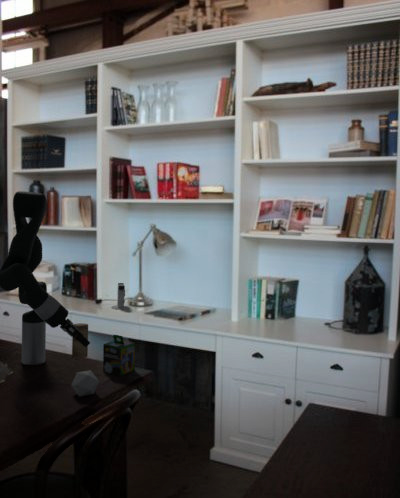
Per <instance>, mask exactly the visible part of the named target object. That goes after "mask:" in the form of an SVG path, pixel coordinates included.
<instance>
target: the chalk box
mask: <svg viewBox="0 0 400 498" xmlns="http://www.w3.org/2000/svg"><path fill="white" fill-rule="evenodd" d="M112 338H113V340H111V341H108V342H106V343H104V344H103V345H102V347H103V349H102V350H103V355H102V358H103V359H102V360H103V361H102V362H103V363H102V366H103V368H102V371H103V373H107V374H111V375H113V376H118V377H122V376H124V375H126V374H129V373H131V372H133V371H135V370H136V367H135V366H136V364H135V363H136V362H135V361H136V360H135V358H136V357H135V356H136V352H135V351H136V350H135V349H136V344H135V343H136V342H133V341H129V340H124V337H123V336H122V335H118V334H113V337H112Z"/></svg>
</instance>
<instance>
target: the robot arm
mask: <svg viewBox="0 0 400 498" xmlns="http://www.w3.org/2000/svg"><path fill="white" fill-rule="evenodd" d="M12 199H13V200H12V208H13V209H12V210H13V217H14V224H15V232H16V234H15V235H14V236H13V238H12V239H11V242H10V246H9V249H8V254H7V256H6V258H5V260H4V262H3V264H2V266H1V268H0V288H1V289H2V290H3V291H6V292H12V291H15V290H17V289H18V292H17V293H18V294H17V295H18V301H19V303H20V304H21V305H27V306H29V308H31V310H28V311H26V312H24V313H22V316H21V364H23V365H25V366H37V365H41V364H44V363H45V362H46V344H47V343H46V342H47V341H46V340H47V339H46V338H47V333H46V332H47V331H46V329H47V328H46V327H47V325H48V326H49V327H50V328H53V329H55V328H58V327H59V328H60V329H61V330H62V331H63V332H64V333H65V332H66V334H67V335H69V336H70V337H71V338H72V337H74V338H75V339H76V340H78V341H79V342H80V343H81V344H82V345H84V346H85V347H87V346H88V347H89V345H90V343H91V342H90V341H89V339H88V340H87V339H86V338H85V337H84V336H83V334H81V333H80V332H79V331H78V330H79V329H78V328H77V327H76V326H75V325H74V324H75V323H74V322H73V321H71V319H69V318H68V315H69V310H68V309H67V308H66V307H65V306H64V305H62V304H61V303H60V302H59V300H57V299H56V298H55V297H53V295H51V294H50V293H49V292H48V288H47V287H48V286H47V283H46V282H45V281H38V280H37V278H36V276H35V275H34V273H33V272H35V270H36V269H37V268H38V267H39V266H40V264H41V263H42V260H43V244H42V241H41V239H40V238H39V236H38V233H39V230H40V228H41V225H42V223H43V221H44V217H45V215H46V211H47V205H48V203H47V197H46V195H45V194H43V193H41V192H32V191H24V190H20V191H16V192H15V193H14V194H13V198H12ZM27 218H28V219H30V221H29V222H28V221H27ZM78 333H79V335H78V336H77V338H76V337H75V336H76V335H77V334H78Z"/></svg>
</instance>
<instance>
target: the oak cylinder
mask: <svg viewBox="0 0 400 498" xmlns="http://www.w3.org/2000/svg"><path fill="white" fill-rule="evenodd" d="M73 324H74V325H75V326H76V327H77V328H78V329H79V330H78V331H79V332H80V333H81V334H83V336H84V337H85V338H86V339H87V340H88V341H89V324H87V323H82V322H79V323H77V322H76V323H73ZM78 335H79V333H78V334H77V335H76V336H75V337H76V338H77V336H78ZM71 338H72V344H71V358H73V359H76V360H77V359H78V360H81V359H86V358H88V351H89V349H88V348H89V345H88V346H87V347H85V346H84V345H82V344H81V343H80V342H79V341H78V340H76V339H75V338H74V337H71Z"/></svg>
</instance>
